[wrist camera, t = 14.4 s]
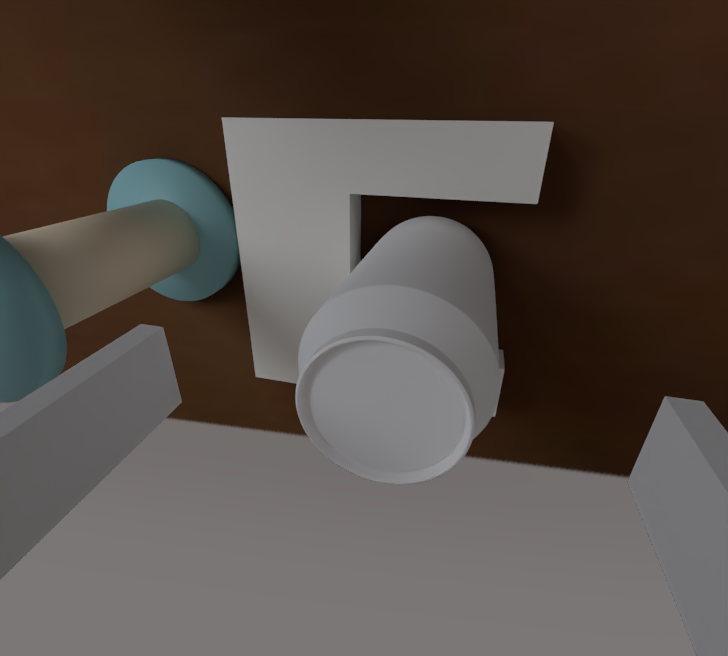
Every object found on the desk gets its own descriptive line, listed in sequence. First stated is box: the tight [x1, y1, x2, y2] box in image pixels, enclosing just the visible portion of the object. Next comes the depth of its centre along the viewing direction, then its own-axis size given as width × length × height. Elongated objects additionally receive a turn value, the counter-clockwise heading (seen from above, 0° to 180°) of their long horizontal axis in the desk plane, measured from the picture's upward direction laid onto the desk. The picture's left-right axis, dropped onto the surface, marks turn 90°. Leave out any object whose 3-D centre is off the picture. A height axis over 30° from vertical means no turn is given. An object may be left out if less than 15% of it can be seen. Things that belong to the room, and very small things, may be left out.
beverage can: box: [295, 216, 500, 485], centre depth 16 cm, size 6×6×12 cm
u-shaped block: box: [222, 118, 554, 417], centre depth 21 cm, size 14×14×2 cm
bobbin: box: [0, 158, 240, 402], centre depth 19 cm, size 8×8×12 cm
